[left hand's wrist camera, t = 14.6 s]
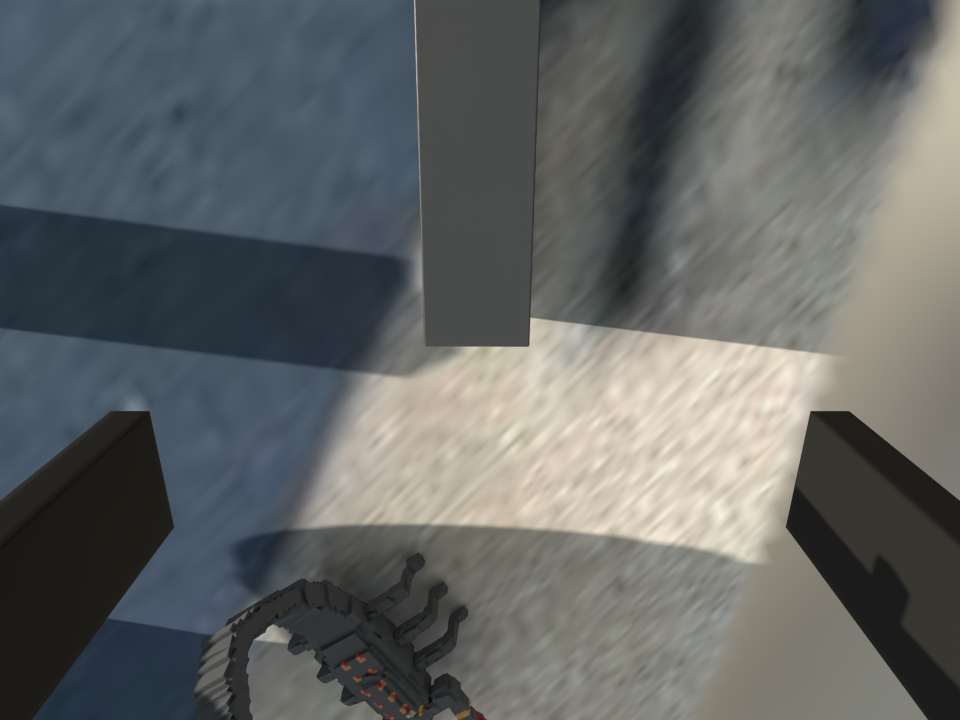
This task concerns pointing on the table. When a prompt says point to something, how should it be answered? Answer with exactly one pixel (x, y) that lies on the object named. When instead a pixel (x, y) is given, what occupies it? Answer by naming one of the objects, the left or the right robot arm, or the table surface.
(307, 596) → the toy
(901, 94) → the table surface
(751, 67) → the table surface
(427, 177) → the post
